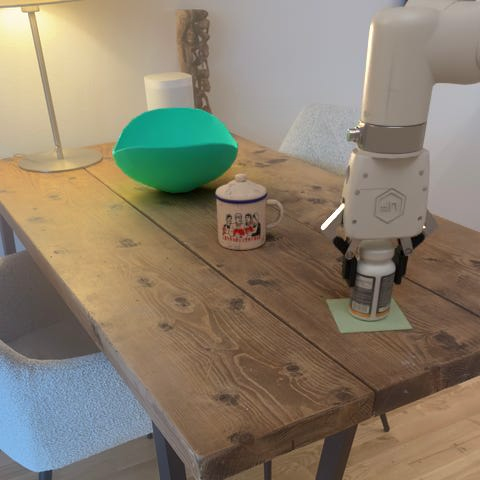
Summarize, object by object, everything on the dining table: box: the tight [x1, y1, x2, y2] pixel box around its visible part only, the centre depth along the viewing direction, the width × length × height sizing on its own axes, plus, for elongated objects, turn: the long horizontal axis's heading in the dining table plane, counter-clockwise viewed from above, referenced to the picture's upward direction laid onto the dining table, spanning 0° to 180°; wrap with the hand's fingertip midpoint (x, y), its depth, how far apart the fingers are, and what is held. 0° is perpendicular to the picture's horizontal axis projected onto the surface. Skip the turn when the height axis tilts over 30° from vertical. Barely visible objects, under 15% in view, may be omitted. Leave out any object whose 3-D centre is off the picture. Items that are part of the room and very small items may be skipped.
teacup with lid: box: [214, 173, 284, 251], centre depth 99 cm, size 12×9×12 cm
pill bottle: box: [349, 239, 396, 321], centre depth 77 cm, size 6×6×10 cm
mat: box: [325, 295, 414, 335], centre depth 81 cm, size 10×10×1 cm
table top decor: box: [111, 106, 239, 194], centre depth 125 cm, size 40×28×13 cm
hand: (372, 280), depth 77 cm, fingers closed on pill bottle, 5 cm apart
